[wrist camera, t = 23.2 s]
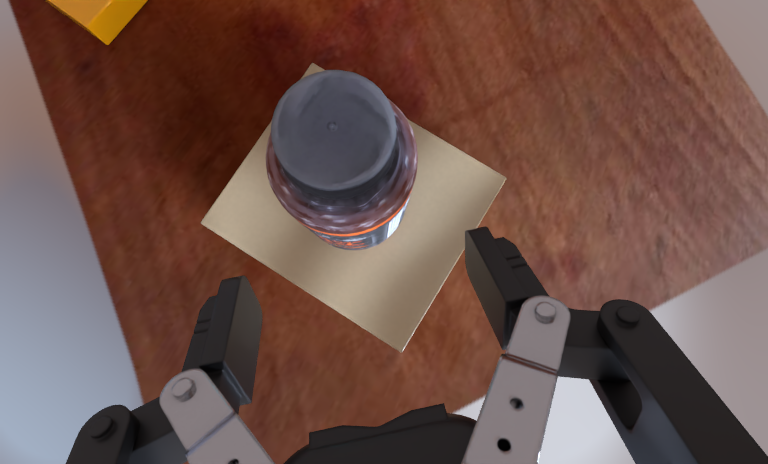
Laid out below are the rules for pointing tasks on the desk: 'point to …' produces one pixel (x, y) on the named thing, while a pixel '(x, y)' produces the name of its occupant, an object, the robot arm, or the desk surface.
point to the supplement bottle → (342, 159)
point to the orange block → (99, 15)
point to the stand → (373, 265)
